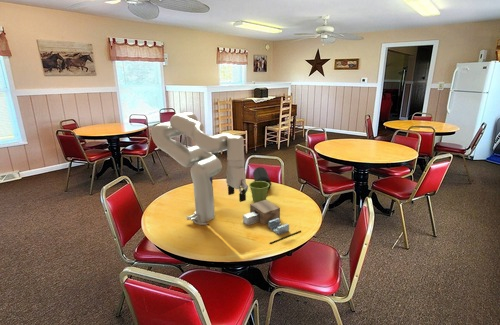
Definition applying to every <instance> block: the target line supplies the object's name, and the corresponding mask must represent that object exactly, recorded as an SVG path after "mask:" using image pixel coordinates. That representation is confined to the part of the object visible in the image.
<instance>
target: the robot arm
mask: <svg viewBox="0 0 500 325" xmlns="http://www.w3.org/2000/svg"><path fill="white" fill-rule="evenodd" d="M182 135H184V136H187V137H189V138H191V139H192V141H193V142H194V144H195V145H193V146H190V147H189V146H185V145H184V144H183V143H182V142H180V141H179V140H176V139H173V138H177V137H180V136H182ZM150 136H151V138H152V141H153V143H154V144H155V146H156V147H157V148H158V149H160V150H161V151H163V152H164V153H166V154H168V155H169V157H171V158H173V159H174V160H175V161H176V162H177V163H178V164H179V165H181V166H182V167H184V168H190V175H191V176H190V177H191V180H192V184H193V195H194V208H195V211H193V213H192V214H191V215H188V216H186V220H187V221H190V220H191V222H193V223H195V224H196V225H198V226H199V225H200V226H207V225H209V223H208V222H210V221H212V220H213V219H215V216H216V215H215V200H214V186H213V183H211V181H210V177H212V178H213V177H214V176H215V175H218V174H219V173H220V172H221V171H222V169H223V165H222V161H221V160H220V159H218V158H217V157H216V156H215V155H213V154H212V153H217V152H218V153H219V152H222V151H224V150H226V153H227V155H226V156H227V158H226V159H227V166H226V173H225V174H226V175H225V179H226V180H225V181H226V184H227V194H228V196H232V195H234V194H235V190H238V192H239V194H238V196H239V197H238V198H239V200H238V201H239V202H240V203H241V202H245V201H246V200H247V195H246V194H247V192H248V189H249V184H247V182H246V171H245V170H246V169H245V139H244V137H243V135H240V134H231V133H228V132H222V133H219V134H218V133H217V134H214V135H209V134H207V133H205V132H204V123H202V122H200V121H198V118H197V115H196V114H195V113H194V112H191V111H186V112H185V111H184V112H180V113H175V114H174V115H172V116H171V118H170V119H169V121H164V122H161V123H158V124H156V125H154V126H153V127H152V128H151V131H150Z"/></svg>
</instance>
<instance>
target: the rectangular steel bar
mask: <svg viewBox="0 0 500 325" xmlns="http://www.w3.org/2000/svg"><path fill="white" fill-rule="evenodd" d="M259 221H260V213H259V212H257V211H254V212H251V213H250V212H248V213H244V214H242V223H243V224H245V225H246V227H247V226H250V225H254V224H256V223H260V222H259Z"/></svg>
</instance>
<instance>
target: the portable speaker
mask: <svg viewBox="0 0 500 325" xmlns="http://www.w3.org/2000/svg"><path fill="white" fill-rule="evenodd" d="M252 175H253V180H254V182H255V181H264V182H267V183H269V184H270V185H269V187H268V191H269V190H270V188H271V187H272V182H271V179H270V177H269V174H268V172H267V169H266V168H264V167H263V166H258V167H256V168H254V170H253V172H252Z"/></svg>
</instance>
